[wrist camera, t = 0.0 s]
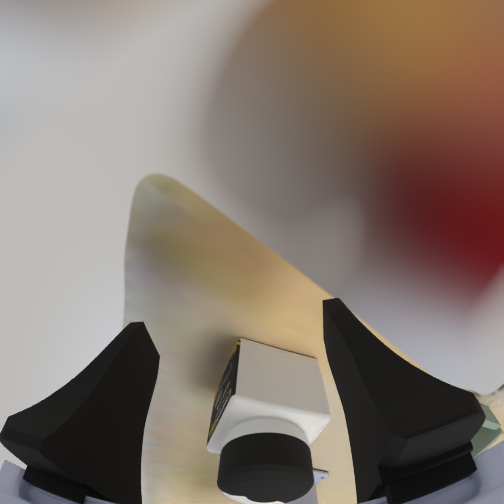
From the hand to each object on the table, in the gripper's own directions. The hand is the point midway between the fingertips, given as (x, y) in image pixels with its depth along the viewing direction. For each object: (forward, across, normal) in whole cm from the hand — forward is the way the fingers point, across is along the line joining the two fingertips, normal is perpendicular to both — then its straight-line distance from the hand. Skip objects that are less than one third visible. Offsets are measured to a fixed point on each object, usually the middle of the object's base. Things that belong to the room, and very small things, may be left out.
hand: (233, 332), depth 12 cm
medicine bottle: (+9, 0, +14) cm, 16 cm away
